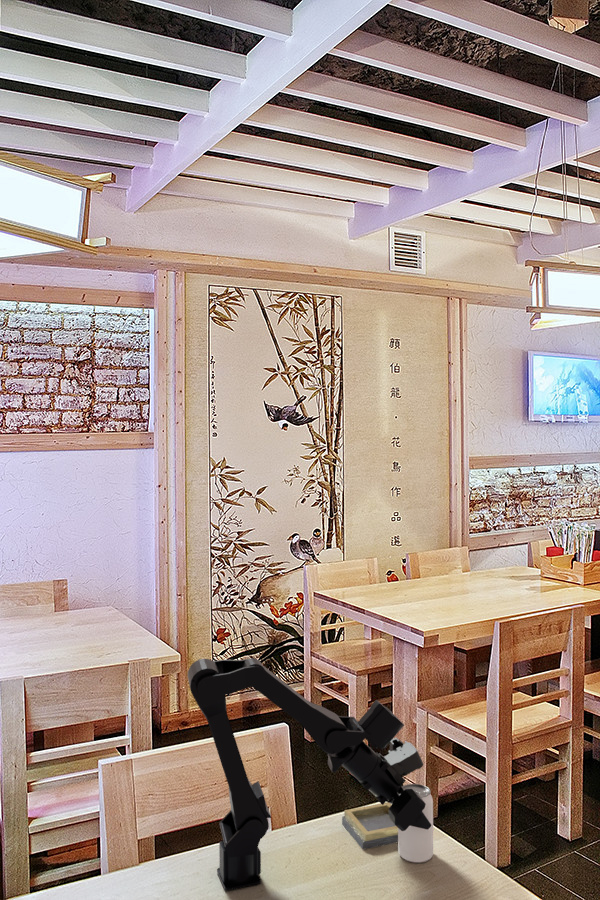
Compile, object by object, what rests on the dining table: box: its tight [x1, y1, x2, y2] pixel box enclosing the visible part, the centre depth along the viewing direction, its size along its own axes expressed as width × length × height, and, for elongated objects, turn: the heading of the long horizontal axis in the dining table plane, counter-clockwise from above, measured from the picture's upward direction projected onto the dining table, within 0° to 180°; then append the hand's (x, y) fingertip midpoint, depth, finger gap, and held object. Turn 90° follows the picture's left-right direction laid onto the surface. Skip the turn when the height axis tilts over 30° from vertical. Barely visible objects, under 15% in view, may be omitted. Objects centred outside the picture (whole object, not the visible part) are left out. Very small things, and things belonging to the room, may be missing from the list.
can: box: [397, 783, 434, 864], centre depth 141 cm, size 6×6×12 cm
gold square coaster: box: [341, 802, 398, 850], centre depth 150 cm, size 11×10×3 cm
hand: (423, 819), depth 141 cm, fingers closed on can, 6 cm apart
